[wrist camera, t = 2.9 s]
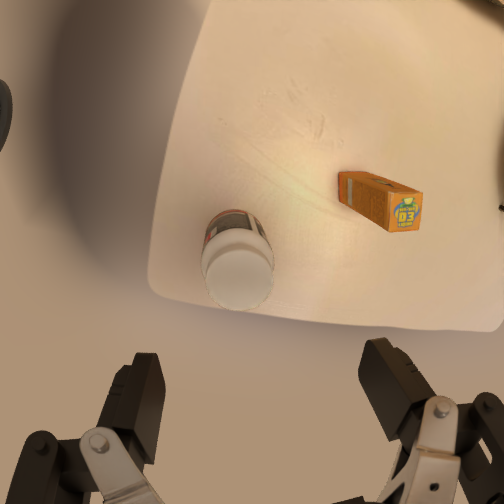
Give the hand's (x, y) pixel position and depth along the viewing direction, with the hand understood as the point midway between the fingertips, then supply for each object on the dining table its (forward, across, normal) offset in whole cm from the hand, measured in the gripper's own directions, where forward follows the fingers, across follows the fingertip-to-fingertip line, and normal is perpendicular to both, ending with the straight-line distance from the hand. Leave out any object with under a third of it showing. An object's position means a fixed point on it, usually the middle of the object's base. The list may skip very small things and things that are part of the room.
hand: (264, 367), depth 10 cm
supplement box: (+20, -11, -4) cm, 23 cm away
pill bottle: (+20, +1, +1) cm, 20 cm away
